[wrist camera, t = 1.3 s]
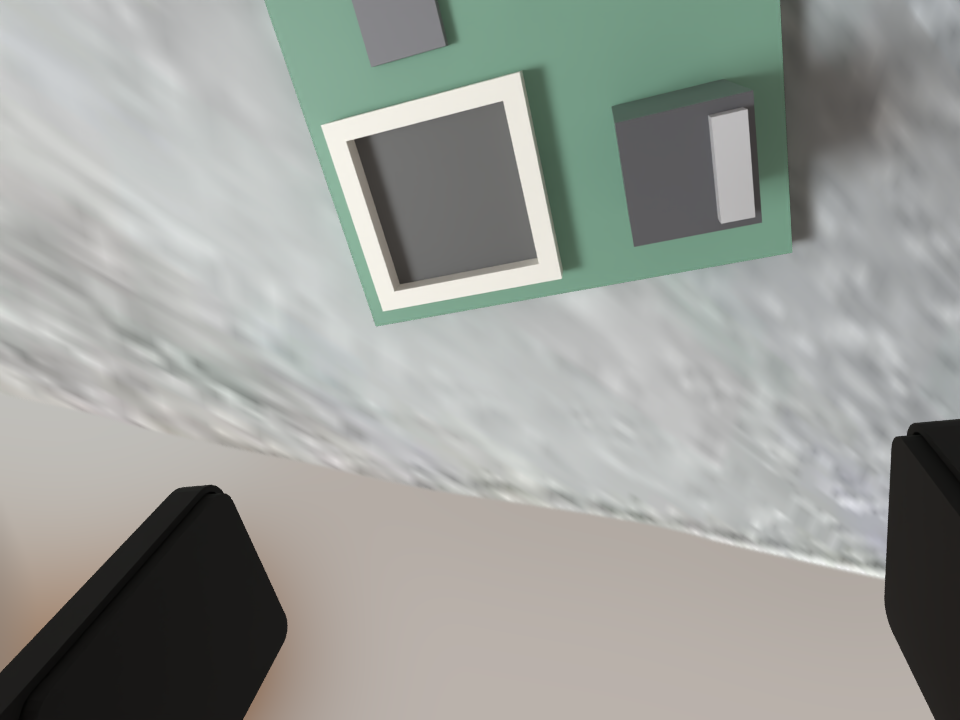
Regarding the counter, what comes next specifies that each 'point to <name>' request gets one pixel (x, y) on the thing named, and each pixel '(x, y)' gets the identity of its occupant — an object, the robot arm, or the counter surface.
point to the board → (516, 137)
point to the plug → (689, 161)
